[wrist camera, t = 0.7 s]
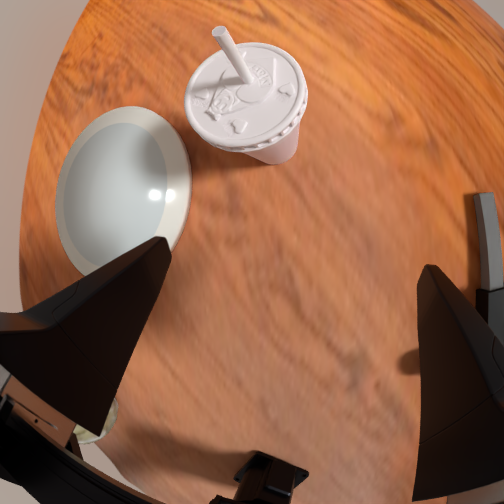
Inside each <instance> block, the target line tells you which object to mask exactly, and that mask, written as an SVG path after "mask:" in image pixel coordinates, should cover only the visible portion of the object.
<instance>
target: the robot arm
mask: <svg viewBox="0 0 504 504" xmlns="http://www.w3.org/2000/svg"><path fill="white" fill-rule="evenodd" d="M171 259H172V254H171V251H170V248H169V244H168V241H167V239H166V237H162V236H154V237H153V238H151V239H149V240H147V241H145V242H143V243H142V244H140V245H138V246H136V247H135V248H133V249H131V250H129V251H127V252H126V253H124V254H122V255H120V256H119V257H117V258H115V259H113V260H112V261H110V262H108V263H107V264H105V265H103V266H102V267H100V268H98V269H96V270H95V271H93V272H91V273H90V274H88V275H86V276H85V277H83V278H82V279H80V280H78V281H77V282H75V283H73V284H72V285H70V286H68V287H67V288H65V289H63V290H62V291H60V292H58V293H57V294H55V295H53V296H51V297H49V298H48V299H46V300H44V301H42V302H40V303H39V304H37V305H35V306H33V307H32V308H30V309H28V310H26V311H23V312H19V313H4V312H0V478H2V479H4V480H6V481H9V482H11V483H14V484H17V485H20V486H22V487H23V488H24V489H25V490H26V491H27V492H28V493H29V494H30V495H32V496H33V497H34V498H35V499H36V500H37V501H38V502H39V503H40V504H165V503H163V502H160V501H158V500H156V499H153V498H151V497H149V496H147V495H145V494H142V493H140V492H138V491H136V490H134V489H132V488H130V487H128V486H126V485H124V484H122V483H120V482H119V481H117V480H115V479H113V478H111V477H110V476H108V475H106V474H104V473H103V472H101V471H99V470H98V469H96V468H94V467H93V466H91V465H89V464H88V463H86V462H85V461H83V457H82V454H81V451H80V447H79V443H78V440H77V436H76V434H75V433H74V432H73V431H74V429H75V427H76V425H77V424H78V425H79V426H81V427H82V428H84V429H86V430H87V431H89V432H91V433H92V434H94V435H96V436H98V437H100V435H101V433H102V430H103V427H104V425H105V422H106V419H107V416H108V414H109V411H110V408H111V406H112V403H113V400H114V398H115V395H116V393H117V389H118V387H119V385H120V382H121V380H122V377H123V375H124V372H125V370H126V367H127V365H128V363H129V360H130V358H131V356H132V353H133V351H134V349H135V346H136V344H137V342H138V339H139V337H140V335H141V333H142V330H143V328H144V326H145V324H146V321H147V319H148V317H149V315H150V313H151V310H152V308H153V306H154V304H155V302H156V300H157V297H158V295H159V293H160V290H161V287H162V285H163V282H164V279H165V276H166V273H167V271H168V268H169V265H170V263H171ZM417 327H418V341H419V354H420V374H421V420H420V439H419V444H420V445H419V450H418V460H417V469H416V477H415V484H414V490H413V496H412V502H414V501H421V500H428V499H434V498H439V497H444V496H447V503H446V504H504V346H503V345H502V343H501V342H500V340H499V339H498V338H497V336H496V335H495V334H494V332H493V331H492V330H491V328H490V327H489V326H488V325H487V323H486V322H485V321H484V319H483V318H482V317H481V316H480V314H479V313H478V312H477V311H476V309H475V308H474V307H473V306H472V305H471V303H470V302H469V301H468V300H467V299H466V297H465V296H464V295H463V294H462V293H461V292H460V290H459V289H458V288H457V287H456V286H455V285H454V284H453V283H452V281H451V280H450V279H449V278H448V277H447V276H446V275H445V274H444V273H443V272H442V270H441V269H440V268H439V267H438V266H436V265H430V264H427V265H425V266H424V268H423V271H422V273H421V276H420V278H419V280H418V283H417ZM494 335H495V336H494ZM308 476H309V472H308V471H306V470H303V469H300V468H298V467H295V466H292V465H290V464H287V463H285V462H282V461H280V460H278V459H275V458H273V457H271V456H268V455H266V454H264V453H261V452H256V453H255V454H254V455H253V456H252V457H251V459H250V460H249V461H248V462H247V463H246V464H245V465H244V466H243V467H242V468H241V469H240V471H239V472H238V473H237V474H236V475H235V476H234V478H233V479H234V480H235V481H237V482H239V483H240V485H239V487H238V489H237V492H236V494H235V496H234V498H233V500H232V499H228V498H225V497H222V496H220V495H216V497H215V498H214V499H212V500H211V501H210V503H209V504H290V503H291V498H292V494H293V489H294V488H295V487H297V486H298V485H299V484H300V483H301V482H303V481H304V480H305V479H306V478H307V477H308Z"/></svg>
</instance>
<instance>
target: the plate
mask: <svg viewBox="0 0 504 504" xmlns="http://www.w3.org/2000/svg"><path fill="white" fill-rule="evenodd" d="M191 197H192V171H191V164H190V159H189V155H188V152H187V149H186V147H185V144H184V142H183V140H182V138H181V136H180V135H179V133H178V132H177V131H176V129H175V128H174V127H173V126H172V125H171V124H170V123H169V122H168V121H167V120H166V119H164V118H162V117H161V116H159V115H158V114H156V113H154V112H153V111H151V110H148V109H145V108H142V107H136V106H126V107H121V108H117V109H114V110H111V111H109V112H107V113H105V114H103V115H101V116H100V117H98V118H97V119H95V120H94V121H93V122H92V123H91V124H89V125H88V126H87V127H86V128H85V129H84V130H83V131H82V133H81V134H80V135H79V136H78V138H77V139H76V140H75V142H74V143H73V145H72V147H71V148H70V150H69V152H68V154H67V156H66V158H65V161H64V163H63V166H62V169H61V172H60V175H59V179H58V184H57V190H56V200H55V212H56V223H57V229H58V233H59V237H60V240H61V243H62V245H63V248H64V250H65V252H66V254H67V256H68V257H69V259H70V261H71V262H72V263H73V265H74V266H75V267H76V268H77V269H78V270H79V271H80V272H81V273H82V274H83V275H84V276H86V275H88V274H90V273H91V272H93V271H95V270H96V269H98V268H100V267H102V266H103V265H105V264H107V263H108V262H110V261H112V260H113V259H115V258H117V257H119V256H120V255H122V254H124V253H126V252H127V251H129V250H131V249H133V248H135V247H136V246H138V245H140V244H142V243H143V242H145V241H147V240H149V239H151V238H153V237H154V236H162V237H166V239H167V241H168V244H169V248H170V251H171V253H172V251H173V250H174V248H175V247H176V245H177V243H178V241H179V239H180V237H181V235H182V233H183V230H184V227H185V225H186V222H187V218H188V214H189V210H190V205H191Z"/></svg>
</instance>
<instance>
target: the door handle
mask: <svg viewBox="0 0 504 504" xmlns="http://www.w3.org/2000/svg"><path fill="white" fill-rule="evenodd" d="M473 198H474V204H475V210H476V218H477V226H478V235H479V247H480V263H481V289H477V290H476V311H477V312H478V313H479V314H480V316H481V317H482V318H483V319H484V321H485V322H486V323H487V325H488V326H489V327H490V328H491V330H492V331H493V332H494V334H495V335H496V336H497V338H498V339H499V340H500V342H501V343H502V345H503V346H504V283H503V263H502V250H501V240H500V231H499V224H498V217H497V211H496V205H495V199H494V194H493V192H490V193H480V194H477V195H474V196H473ZM495 335H494V336H495Z"/></svg>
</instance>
